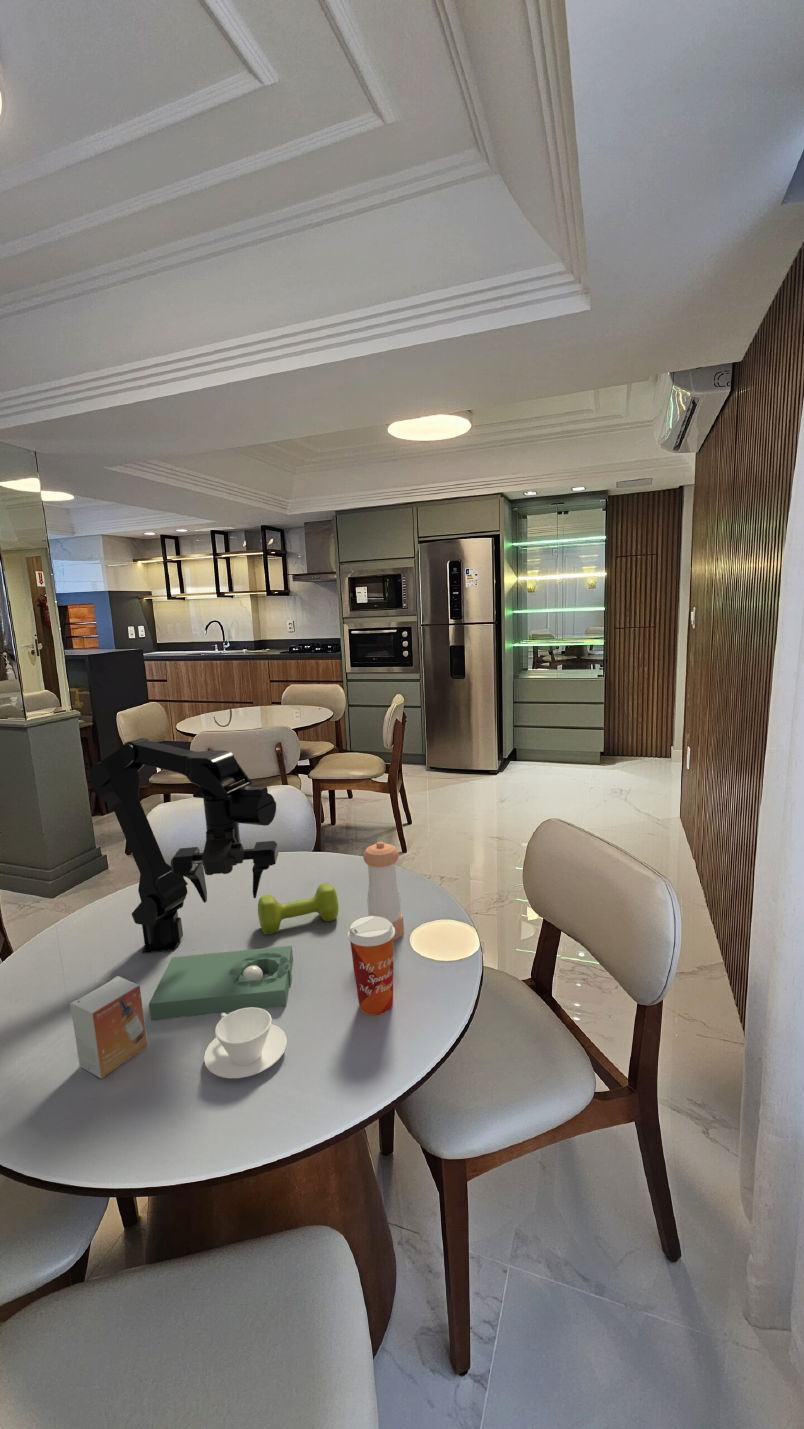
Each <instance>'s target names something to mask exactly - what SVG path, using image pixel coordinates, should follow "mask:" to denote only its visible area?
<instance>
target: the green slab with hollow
mask: <svg viewBox="0 0 804 1429" xmlns="http://www.w3.org/2000/svg"><path fill="white" fill-rule="evenodd" d="M293 965H294V954H293V945H287V946H286V945H285V946H275V947H263V948H253V949H244V950H242V949H241V950H233V951H231V950H230V951H224V952H222V951H221V952H213V953H212V952H211V953H201V954H193V955H192V954H191V955H181V956H173V957H171V959H170V961H169V963H168V964H167V967H166V968H165V971H164V972H163V974H162V977H161V979H160V981H159V982H158V985H157V987H156V988H155V990H154V992H153V995H152V996H151V999H150V1001H149V1002H148V1009H149V1015H150V1021H159V1020H165V1019H166V1020H168V1019H177V1018H189V1017H196V1016H197V1017H198V1016H206V1015H215V1014H222V1013H225V1014H227V1013H231V1012H233V1011H236V1010H238V1009H243V1008H250V1007H254V1008H261V1009H264V1010H265V1009H273V1008H274V1009H275V1008H281V1007H287V1004H288V998H289V997H288V996H289V991H290V986H292V980H293V975H292V970H293ZM249 966H258V967H259V968H260V969H261V970H262V972H263V975H270V976H268V977H265V978H263V979H261V980H249V979H245V978H243V976H242V974H243V972H244V970H245V969H246V968H247V967H249Z"/></svg>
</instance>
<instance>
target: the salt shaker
mask: <svg viewBox="0 0 804 1429" xmlns="http://www.w3.org/2000/svg"><path fill="white" fill-rule="evenodd" d="M399 856H400V853H399V851H398V849H397V847H395V846H394V845H393V844H390V843H385V842H383V841H377V843H375V844H372V845H369V846H367V847H366V848H365V850H364V852H363V856H362V857H363V862H364V863H365V865H367V869H368V892H367V910H368V912H367V913H368V915H367V917H369V916H378V917H383V918H386V919H387V920H389V921H390V922H391V923H392V924H393V927H394V928H395V935H394V937H393V941H396V940H398V939H400V938H401V937H402V936H403V935H404V932H405V928H404V927H405V926H404V925H405V924H404V915H403V913H402V910H401V909H402V907H401V906H402V905H401V902H402V901H401V896H400V892H399V886H398V882H397V870H396V869H397V868H396V863H397V861H398V860H399Z"/></svg>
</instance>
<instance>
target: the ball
mask: <svg viewBox="0 0 804 1429" xmlns="http://www.w3.org/2000/svg"><path fill="white" fill-rule="evenodd" d="M242 976H243V978H245V979H249V980H261V979H264V974H263V972H262V970H261V969H260V968H259V967H258V966H249V967H247V968H246V969H245V970H244V972H243V974H242Z"/></svg>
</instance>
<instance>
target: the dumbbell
mask: <svg viewBox="0 0 804 1429" xmlns="http://www.w3.org/2000/svg"><path fill="white" fill-rule="evenodd" d="M257 902H258V903H257V916H258V922H259V925H260V928H261V931H262V932H263V934H264V935H267V936H269V935H274V934H276V933H277V932H278V931H279V930H280V927H281V922H282V920H284V919H290V918H292V919H293V918H296V917H300V916H304V915H309V914H312V913H318V914H319V916H320V917H321V919H322V920H324V922H331V921H335V920H336V919H337V918H338V916H339V900H338V894H337V891H336V889H335V887H334V886H333V884H332V883H330V882H324V883H321V884H320V885H318V886H317V888H316V892H315V894H314V896H313V897H310V898H304V899H297V900H293V901H289V902H287V903H280V902H278V900H277V899H276V897H274V896H273V895H272V894H266V895H262V896H260V897H259V899H258V901H257Z"/></svg>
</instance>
